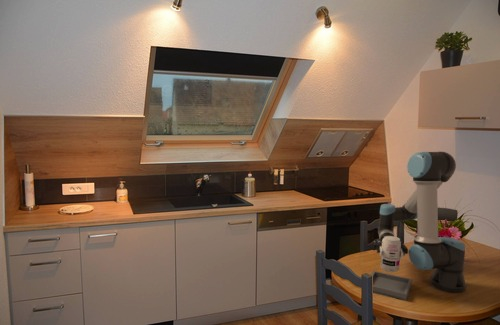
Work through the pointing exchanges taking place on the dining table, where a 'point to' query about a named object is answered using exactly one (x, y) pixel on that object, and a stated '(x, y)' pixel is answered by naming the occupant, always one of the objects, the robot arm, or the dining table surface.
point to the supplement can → (390, 253)
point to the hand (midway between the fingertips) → (391, 255)
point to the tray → (391, 285)
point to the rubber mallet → (447, 214)
